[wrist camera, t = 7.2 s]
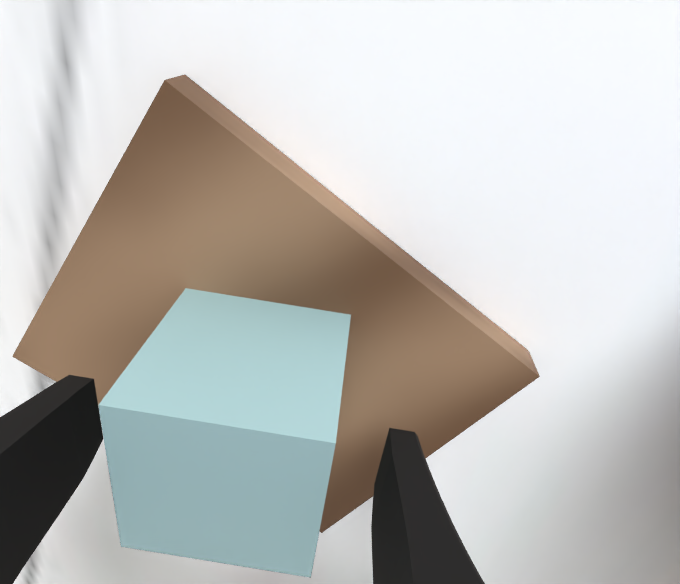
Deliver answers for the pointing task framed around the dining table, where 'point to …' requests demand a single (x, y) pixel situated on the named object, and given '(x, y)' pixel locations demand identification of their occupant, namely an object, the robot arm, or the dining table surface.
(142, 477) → the teal cube
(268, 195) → the walnut board
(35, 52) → the dining table surface
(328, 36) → the dining table surface
